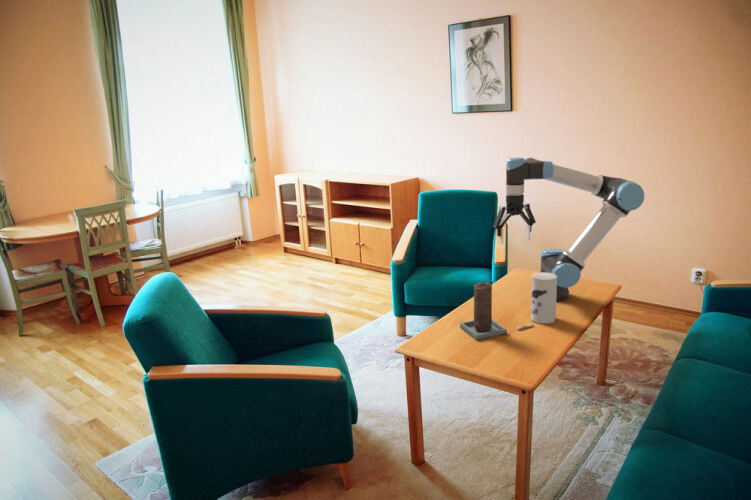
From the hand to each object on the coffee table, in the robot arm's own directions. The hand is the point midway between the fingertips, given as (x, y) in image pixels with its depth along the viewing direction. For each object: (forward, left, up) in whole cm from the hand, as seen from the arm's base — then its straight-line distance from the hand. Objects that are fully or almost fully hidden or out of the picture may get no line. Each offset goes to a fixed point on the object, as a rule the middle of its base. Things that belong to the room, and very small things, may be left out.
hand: (514, 241), depth 233 cm
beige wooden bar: (+8, +21, -32) cm, 39 cm away
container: (-4, +17, -32) cm, 36 cm away
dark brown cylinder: (+25, +16, -31) cm, 43 cm away
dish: (+25, +16, -32) cm, 43 cm away
